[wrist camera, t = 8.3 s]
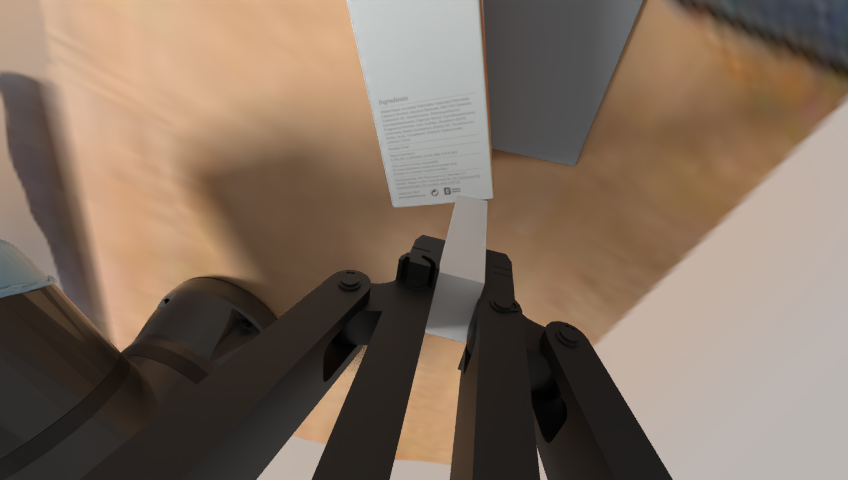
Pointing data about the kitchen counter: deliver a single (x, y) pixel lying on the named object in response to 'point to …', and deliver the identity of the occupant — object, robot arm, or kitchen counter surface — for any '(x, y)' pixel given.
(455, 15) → the small box
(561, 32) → the mat
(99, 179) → the kitchen counter surface
